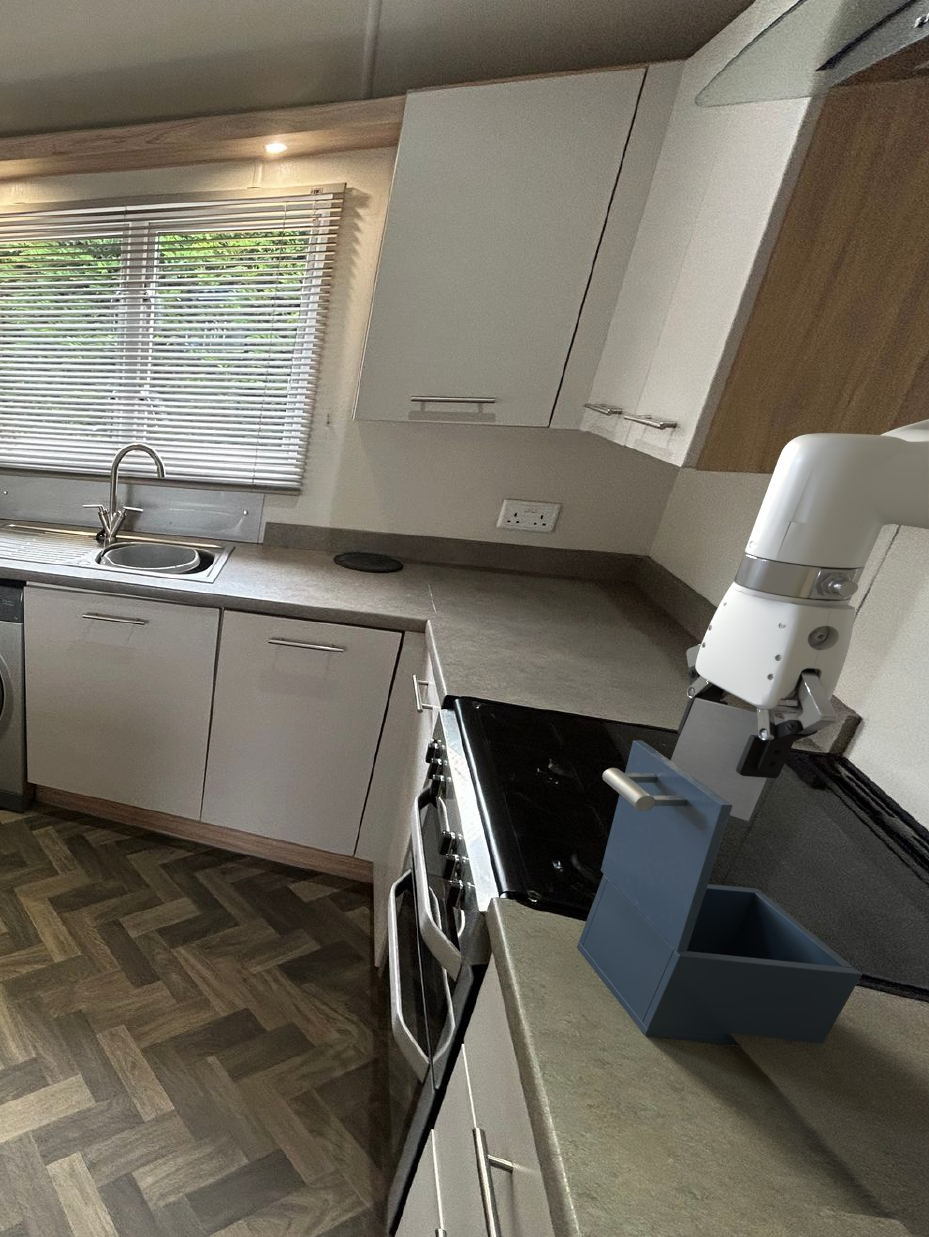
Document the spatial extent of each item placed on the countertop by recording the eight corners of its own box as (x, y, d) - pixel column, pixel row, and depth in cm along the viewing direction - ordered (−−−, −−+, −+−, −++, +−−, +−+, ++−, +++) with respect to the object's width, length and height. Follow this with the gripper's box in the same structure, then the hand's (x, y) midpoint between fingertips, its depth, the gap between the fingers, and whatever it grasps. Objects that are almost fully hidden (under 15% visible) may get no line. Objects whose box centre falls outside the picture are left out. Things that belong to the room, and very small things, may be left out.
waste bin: (722, 962, 77) (757, 888, 74) (816, 1055, 67) (862, 974, 63) (576, 947, 79) (603, 874, 76) (644, 1035, 69) (680, 955, 65)
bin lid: (641, 740, 70) (586, 740, 71) (733, 805, 59) (666, 804, 60) (608, 870, 75) (557, 869, 76) (686, 952, 65) (626, 949, 66)
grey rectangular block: (748, 821, 69) (788, 727, 65) (658, 792, 73) (691, 703, 70) (754, 807, 71) (793, 715, 67) (666, 780, 76) (699, 693, 72)
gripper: (943, 609, 55) (847, 806, 62) (764, 558, 71) (703, 719, 78) (831, 605, 56) (749, 799, 63) (680, 555, 72) (627, 714, 79)
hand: (724, 753), depth 70 cm, fingers closed on grey rectangular block, 7 cm apart
